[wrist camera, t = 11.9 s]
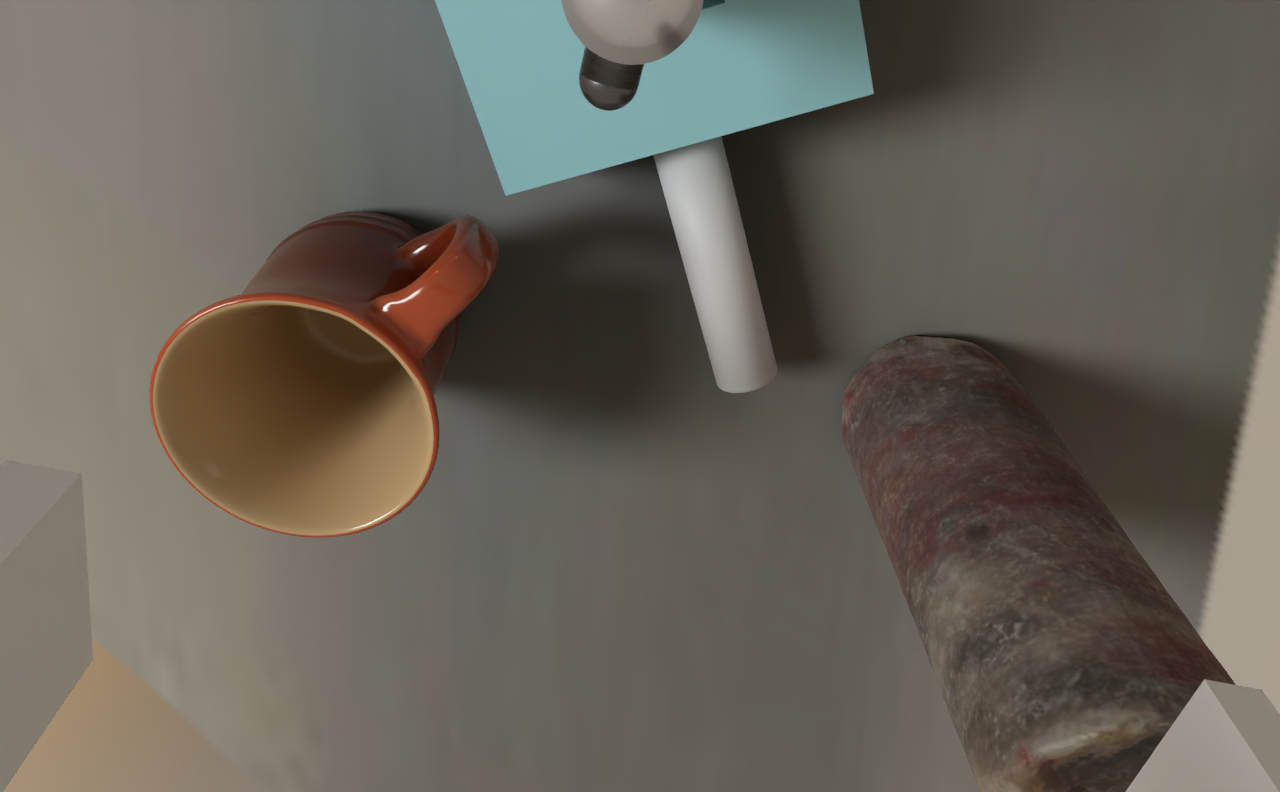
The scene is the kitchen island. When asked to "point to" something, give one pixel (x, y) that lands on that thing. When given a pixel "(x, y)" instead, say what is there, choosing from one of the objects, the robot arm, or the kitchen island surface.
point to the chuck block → (665, 126)
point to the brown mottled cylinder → (1016, 575)
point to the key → (625, 42)
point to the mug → (322, 374)
